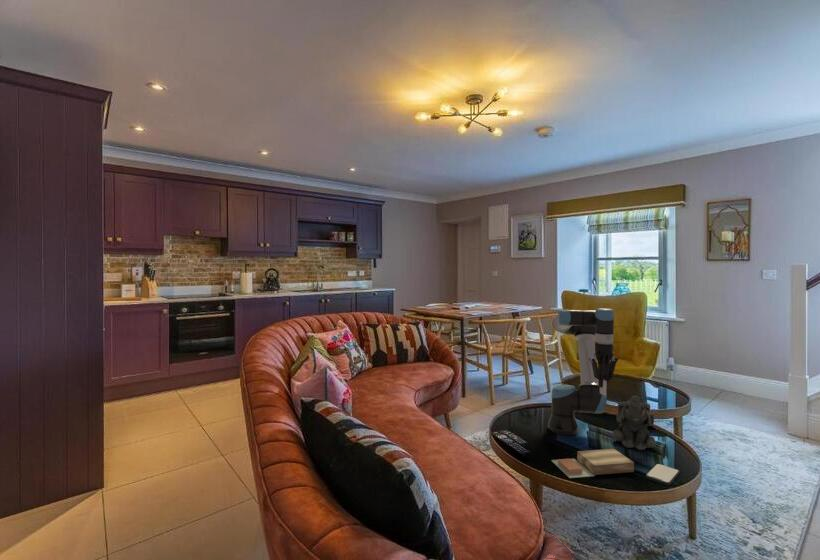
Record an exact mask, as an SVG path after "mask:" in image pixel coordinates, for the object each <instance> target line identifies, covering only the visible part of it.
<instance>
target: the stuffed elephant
mask: <svg viewBox="0 0 820 560" xmlns="http://www.w3.org/2000/svg"><path fill="white" fill-rule="evenodd" d="M650 410H651V405H650V404H649V403H646V402H645V403H644V402H641V398H640V397H639V396H638V395H633V396H631V397H630V398H629V400H627V401H619V402H618V403H617V415H616V418H615V420H616V422H617V423H618V424H619V425H618V427H617V429H614V430H612V433H611V434H612V438H613V439H614V440H615V441H616V442H619V443H621V444H622V445H623V447H625V448H626V449H627V448H628V449H632V448H635V449H636V450H639V451H645V450H646V448H647V449H651V448H654V447H655V445H656V439H655V438H654V437H653V436H650V435H651V434H650V432H649V429H648V427H650V426H651V418H650V415H651V414H650ZM647 425H648V426H647Z"/></svg>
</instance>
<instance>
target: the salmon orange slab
mask: <svg viewBox="0 0 820 560" xmlns="http://www.w3.org/2000/svg"><path fill="white" fill-rule="evenodd" d="M572 459H573V458H561V459H559V458H558V459H557V460H558V464H559V465H560V466H561V467H562V468H563V469H564V470H565V471H566V472H567V473H568V474H579V473H583V468H581V467H580V466H579V465H578V464H577V463H575V462H574V461H573V460H572Z"/></svg>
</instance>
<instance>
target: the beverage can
mask: <svg viewBox="0 0 820 560" xmlns="http://www.w3.org/2000/svg"><path fill="white" fill-rule="evenodd" d="M649 415H650V418H651V424H653V425H654V424H655V415H653V414H649ZM647 427H649V426H648V425H647Z"/></svg>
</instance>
